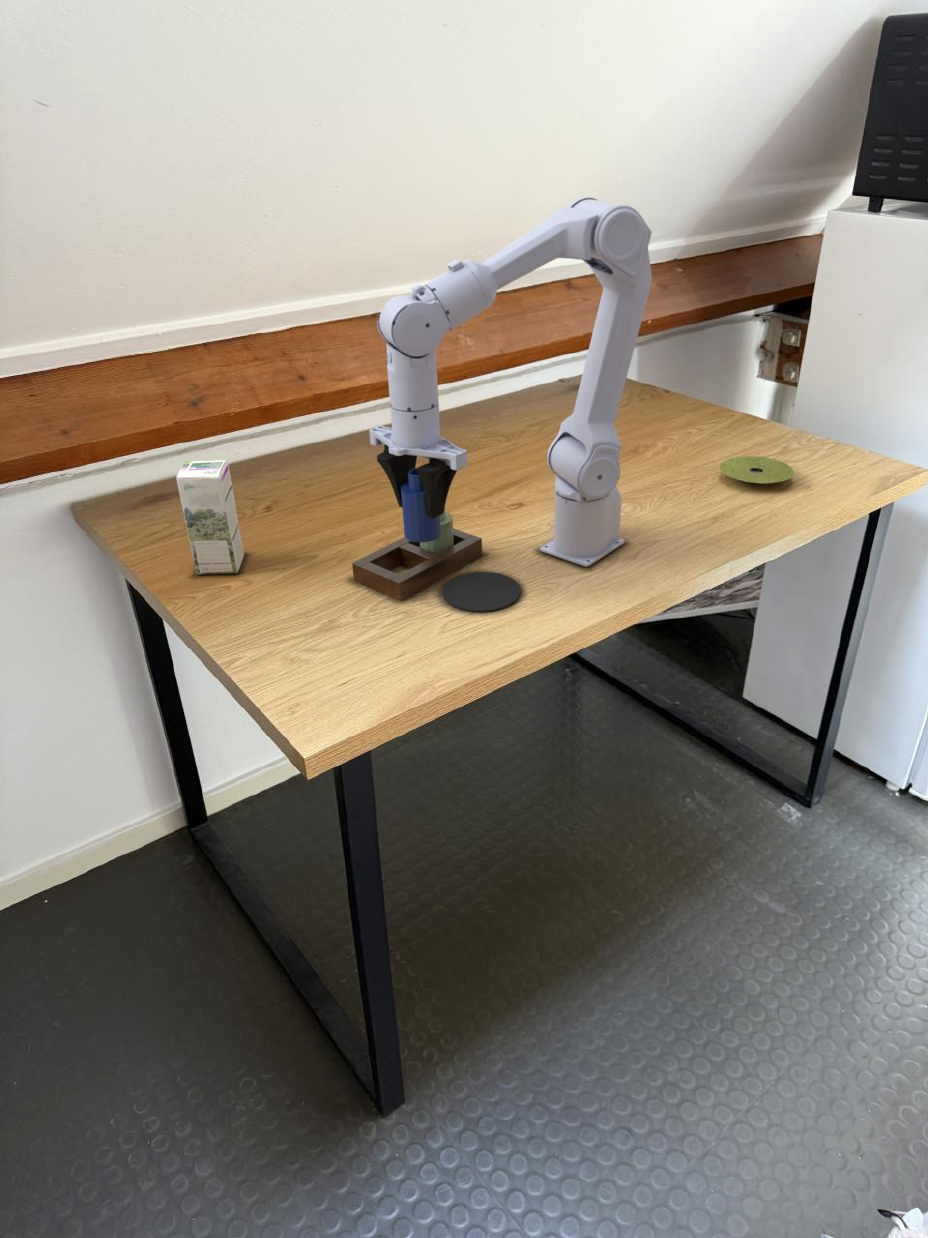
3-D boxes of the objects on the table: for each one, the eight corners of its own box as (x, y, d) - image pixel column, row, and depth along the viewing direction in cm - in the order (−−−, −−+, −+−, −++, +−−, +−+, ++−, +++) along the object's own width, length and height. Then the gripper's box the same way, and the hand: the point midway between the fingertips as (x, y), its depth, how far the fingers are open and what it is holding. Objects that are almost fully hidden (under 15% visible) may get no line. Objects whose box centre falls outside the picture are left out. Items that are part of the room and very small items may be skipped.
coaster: (477, 566, 122) (477, 564, 122) (536, 589, 117) (536, 587, 116) (426, 595, 116) (426, 593, 116) (486, 621, 110) (486, 618, 110)
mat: (705, 472, 148) (706, 460, 147) (766, 462, 150) (768, 451, 149) (741, 498, 139) (743, 486, 138) (806, 488, 141) (808, 476, 140)
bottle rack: (353, 580, 120) (351, 562, 119) (435, 537, 130) (434, 521, 129) (401, 601, 115) (399, 583, 114) (482, 555, 125) (482, 538, 124)
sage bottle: (436, 547, 128) (433, 491, 123) (460, 556, 125) (458, 499, 121) (413, 559, 125) (410, 502, 120) (438, 568, 122) (435, 511, 118)
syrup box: (245, 554, 127) (228, 457, 120) (237, 575, 122) (219, 474, 115) (204, 556, 127) (185, 458, 120) (195, 576, 122) (174, 476, 115)
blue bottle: (422, 523, 118) (418, 461, 114) (448, 532, 116) (445, 470, 111) (397, 535, 115) (392, 473, 111) (423, 545, 113) (419, 482, 108)
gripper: (347, 401, 108) (358, 505, 115) (436, 425, 100) (442, 536, 107) (389, 386, 113) (397, 487, 120) (478, 408, 104) (480, 516, 112)
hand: (421, 509), depth 114 cm, fingers closed on blue bottle, 4 cm apart
